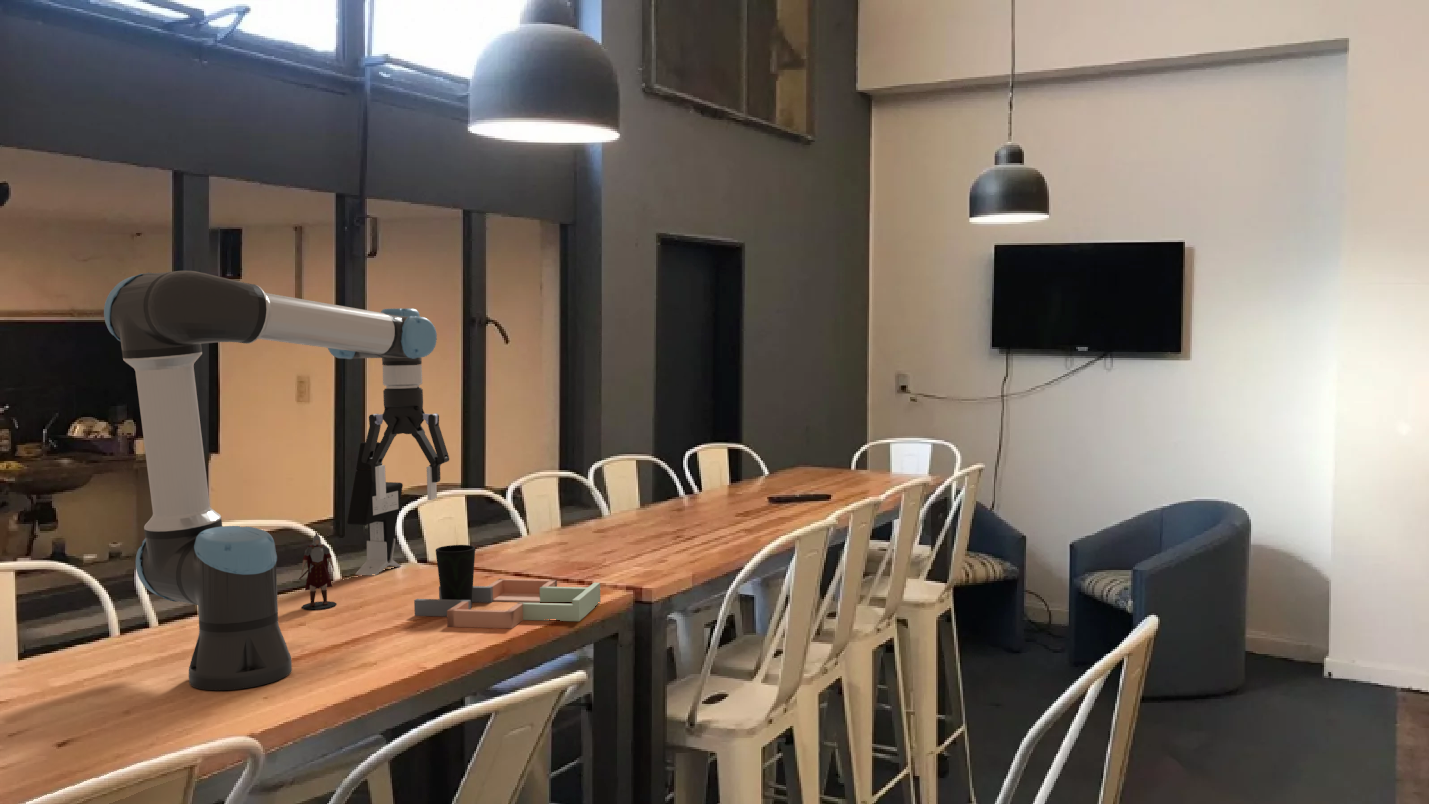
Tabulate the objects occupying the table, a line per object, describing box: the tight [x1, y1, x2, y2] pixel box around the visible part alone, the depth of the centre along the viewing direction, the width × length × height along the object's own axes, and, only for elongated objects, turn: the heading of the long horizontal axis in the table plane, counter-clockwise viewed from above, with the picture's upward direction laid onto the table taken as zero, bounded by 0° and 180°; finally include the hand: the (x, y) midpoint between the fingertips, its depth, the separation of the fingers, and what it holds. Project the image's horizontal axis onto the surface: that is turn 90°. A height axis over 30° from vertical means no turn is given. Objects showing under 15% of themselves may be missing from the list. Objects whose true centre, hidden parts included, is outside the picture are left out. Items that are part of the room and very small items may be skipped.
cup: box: [435, 544, 476, 609], centre depth 223 cm, size 8×8×12 cm
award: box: [346, 441, 404, 577], centre depth 260 cm, size 15×5×30 cm, turn 161°
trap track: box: [413, 578, 601, 629], centre depth 221 cm, size 33×28×4 cm
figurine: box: [298, 532, 337, 611], centre depth 227 cm, size 7×7×15 cm
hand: (406, 498), depth 224 cm, fingers open, 10 cm apart
